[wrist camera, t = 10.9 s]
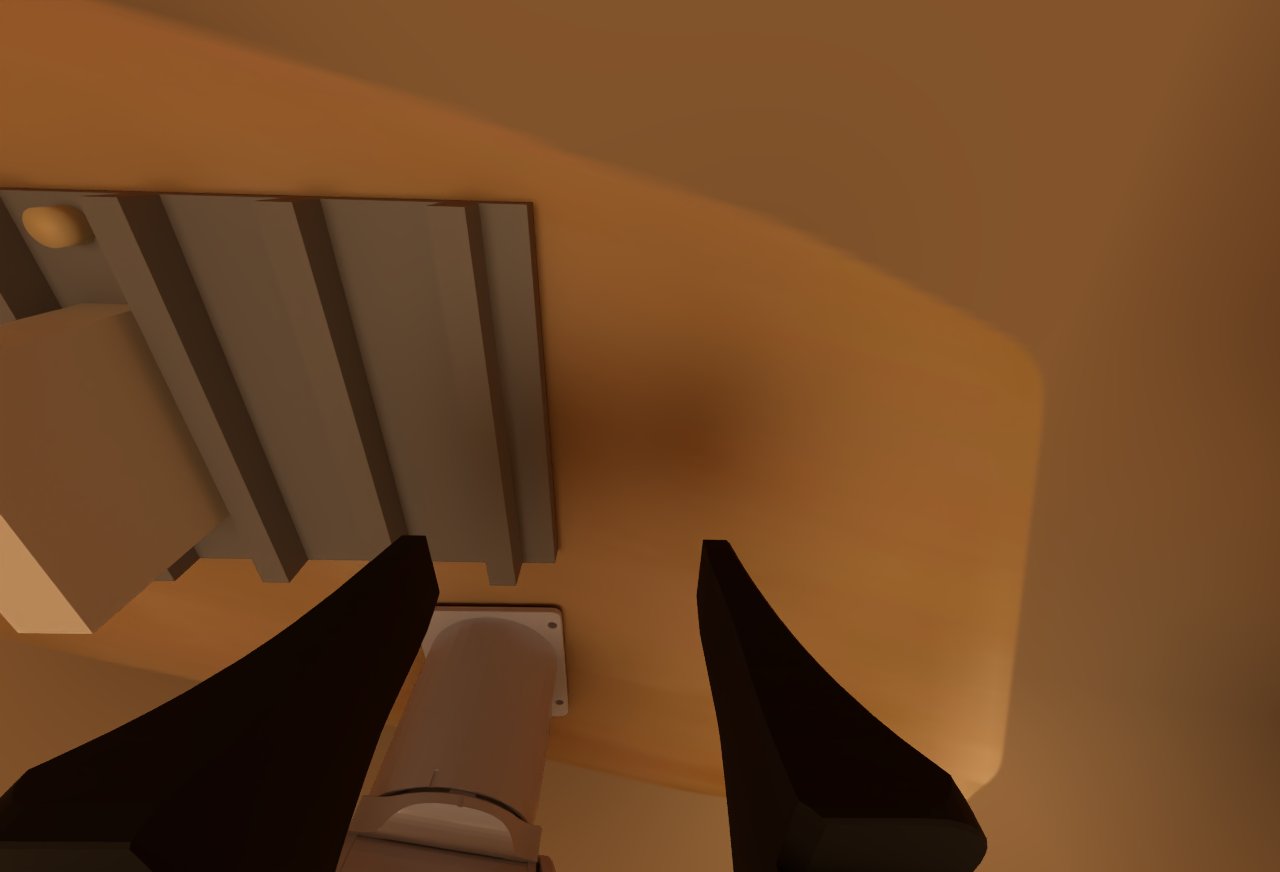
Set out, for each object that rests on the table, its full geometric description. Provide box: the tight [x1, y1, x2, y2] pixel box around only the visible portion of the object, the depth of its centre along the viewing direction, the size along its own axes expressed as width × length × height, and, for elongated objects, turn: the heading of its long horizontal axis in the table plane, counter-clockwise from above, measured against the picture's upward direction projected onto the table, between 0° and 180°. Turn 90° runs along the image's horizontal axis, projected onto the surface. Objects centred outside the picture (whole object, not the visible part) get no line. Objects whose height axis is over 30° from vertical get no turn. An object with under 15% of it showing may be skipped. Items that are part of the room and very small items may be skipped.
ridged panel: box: [0, 188, 558, 586], centre depth 20 cm, size 16×20×2 cm
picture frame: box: [0, 303, 230, 634], centre depth 17 cm, size 9×2×7 cm, turn 179°
